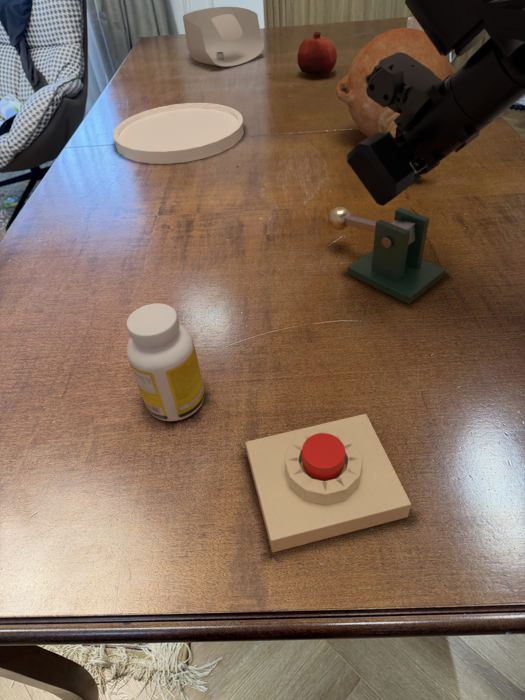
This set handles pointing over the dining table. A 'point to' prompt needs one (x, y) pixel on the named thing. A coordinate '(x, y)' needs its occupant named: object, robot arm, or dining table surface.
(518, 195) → the dining table surface
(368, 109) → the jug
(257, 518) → the dining table surface
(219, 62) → the grey curved shell
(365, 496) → the button box
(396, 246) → the bracket
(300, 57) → the fruit
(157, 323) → the pill bottle
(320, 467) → the button
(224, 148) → the plate
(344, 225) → the lever
